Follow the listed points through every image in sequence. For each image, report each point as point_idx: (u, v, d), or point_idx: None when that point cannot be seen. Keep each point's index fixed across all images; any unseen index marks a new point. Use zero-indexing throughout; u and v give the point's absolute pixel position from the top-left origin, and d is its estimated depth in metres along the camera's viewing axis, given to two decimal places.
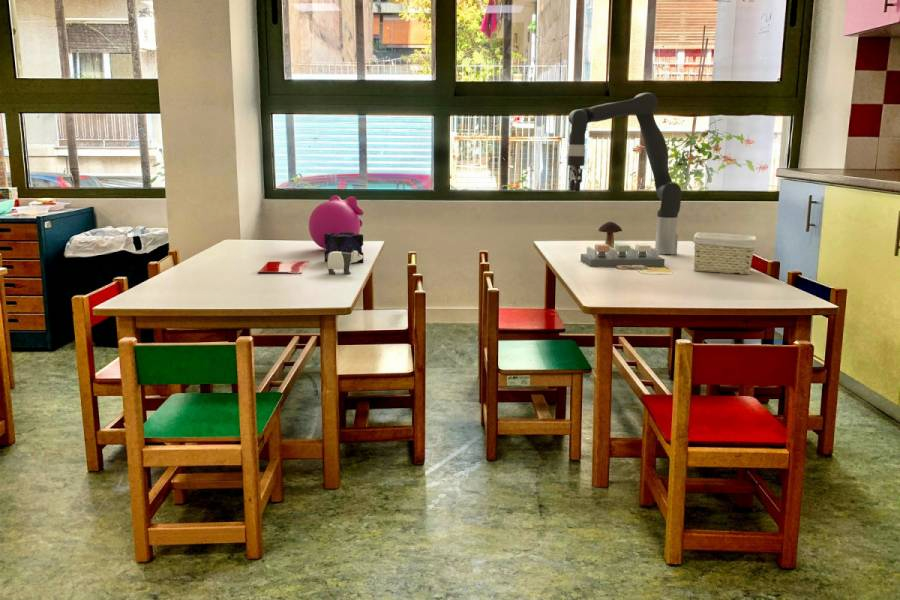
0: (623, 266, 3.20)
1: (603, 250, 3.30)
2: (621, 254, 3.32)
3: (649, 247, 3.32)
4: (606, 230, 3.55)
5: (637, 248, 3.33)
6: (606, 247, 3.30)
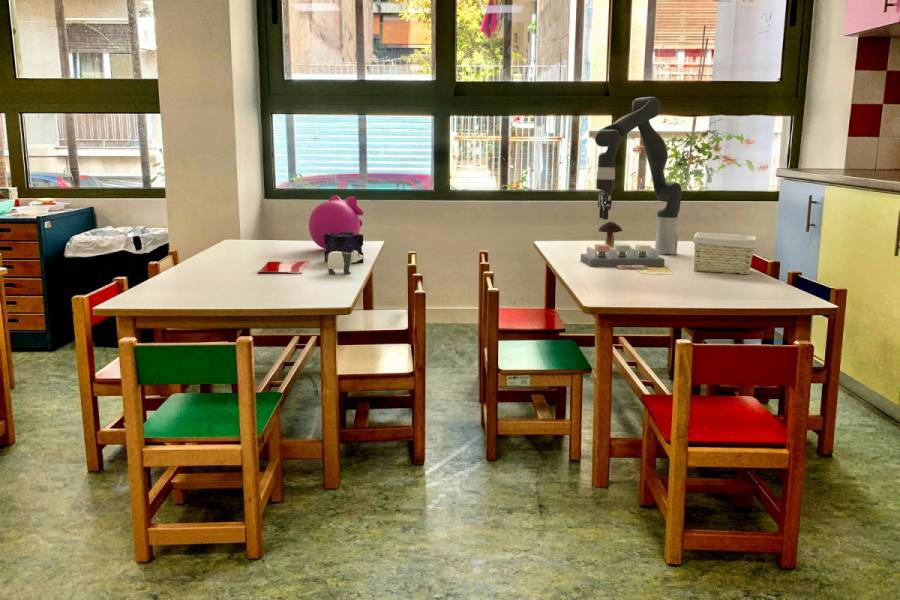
0: (623, 266, 3.20)
1: (603, 250, 3.30)
2: (621, 254, 3.32)
3: (649, 247, 3.32)
4: (606, 230, 3.55)
5: (637, 248, 3.33)
6: (606, 247, 3.30)
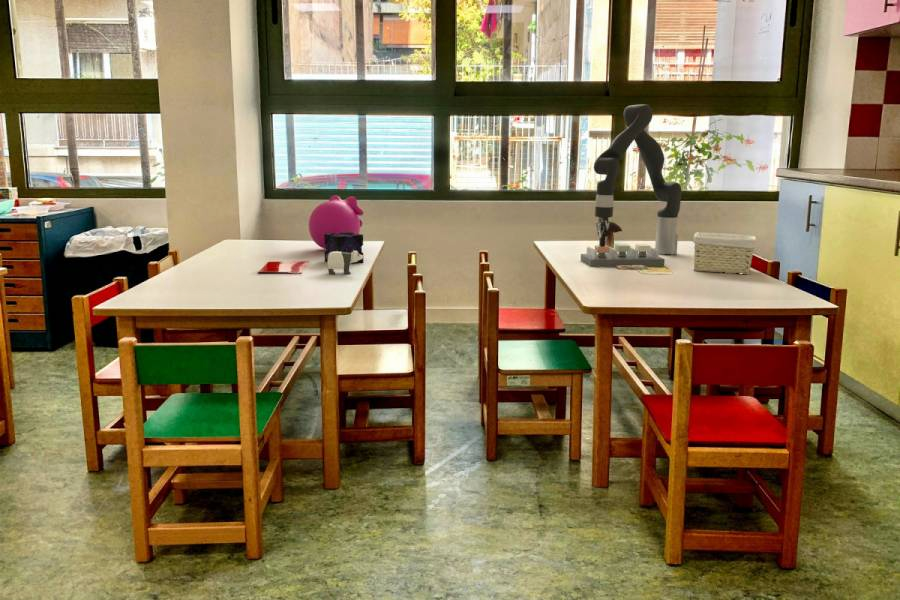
0: (623, 266, 3.20)
1: (603, 251, 3.30)
2: (621, 254, 3.32)
3: (649, 247, 3.32)
4: None
5: (637, 248, 3.33)
6: (606, 248, 3.30)
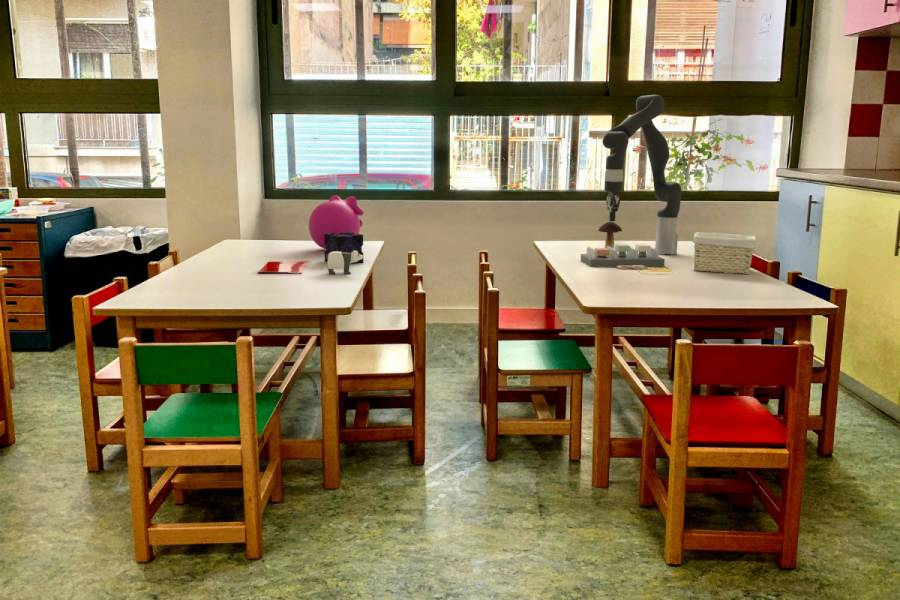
0: (623, 266, 3.20)
1: (603, 254, 3.30)
2: (621, 254, 3.32)
3: (649, 247, 3.32)
4: (606, 230, 3.55)
5: (637, 248, 3.33)
6: (606, 251, 3.30)
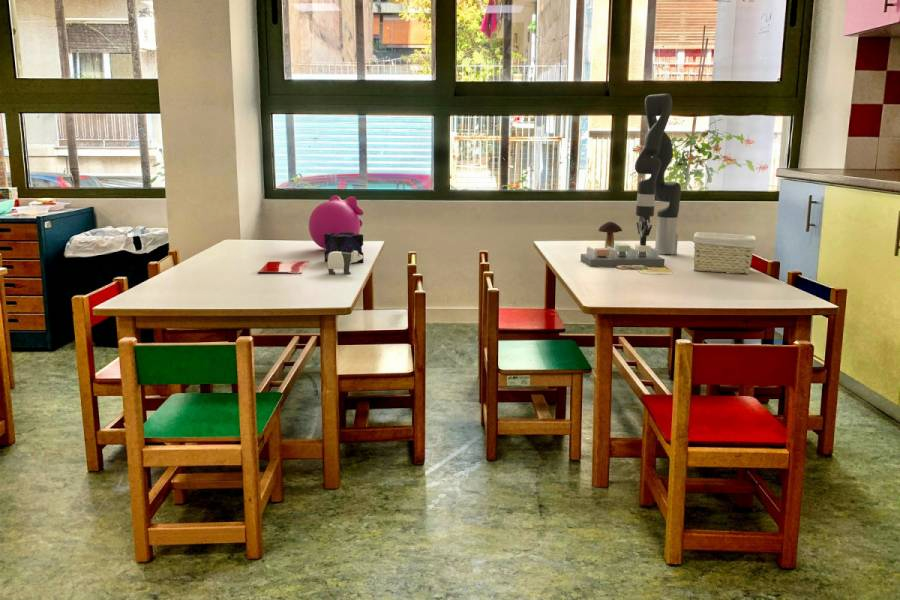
0: (623, 266, 3.20)
1: (603, 254, 3.30)
2: (621, 254, 3.32)
3: (649, 247, 3.32)
4: (606, 230, 3.55)
5: (637, 248, 3.33)
6: (606, 251, 3.30)
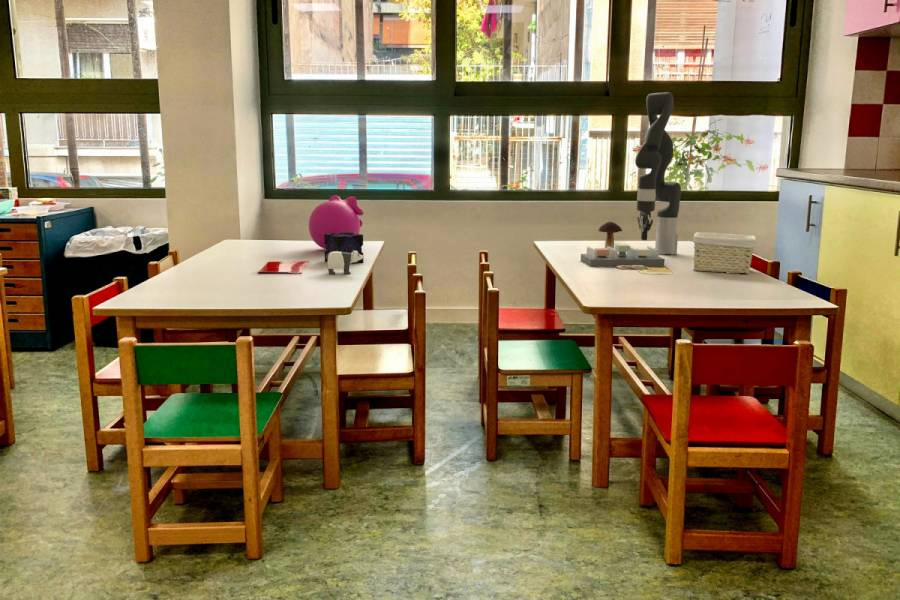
0: (623, 266, 3.20)
1: (603, 254, 3.30)
2: (621, 254, 3.32)
3: (649, 251, 3.32)
4: (606, 230, 3.55)
5: None
6: (606, 251, 3.30)
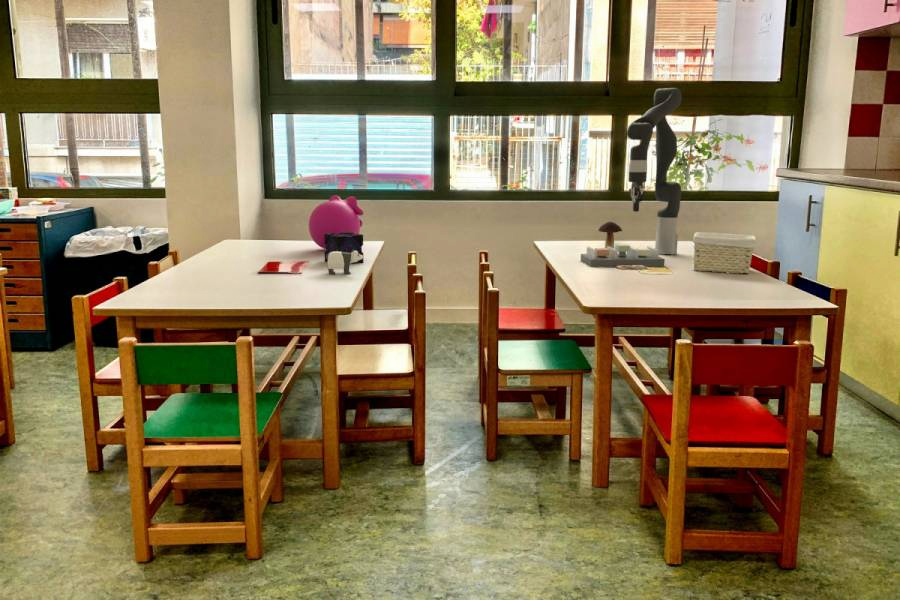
0: (623, 266, 3.20)
1: (603, 254, 3.30)
2: (621, 254, 3.32)
3: (649, 251, 3.32)
4: (606, 230, 3.55)
5: None
6: (606, 251, 3.30)
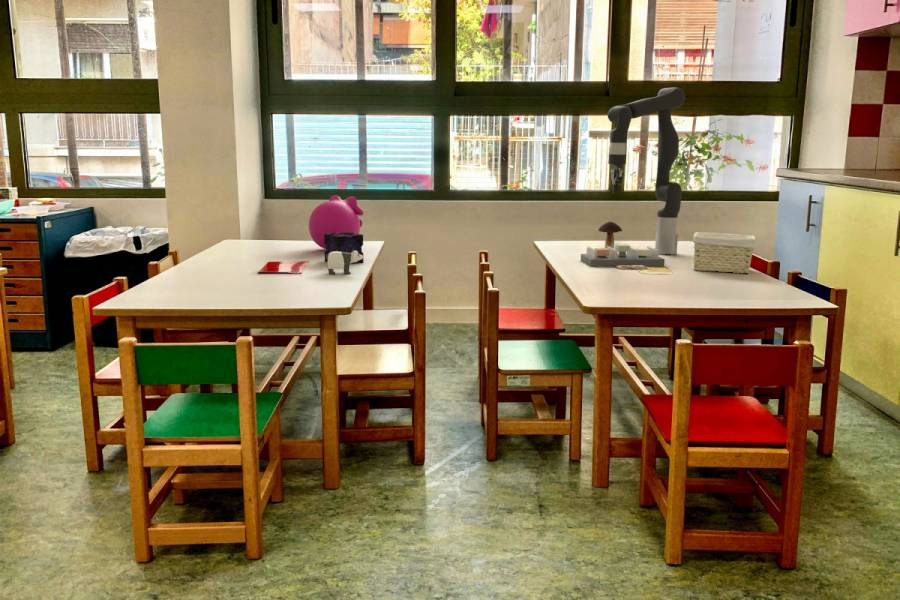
0: (623, 266, 3.20)
1: (603, 254, 3.30)
2: (621, 254, 3.32)
3: (649, 251, 3.32)
4: (606, 230, 3.55)
5: None
6: (606, 251, 3.30)
